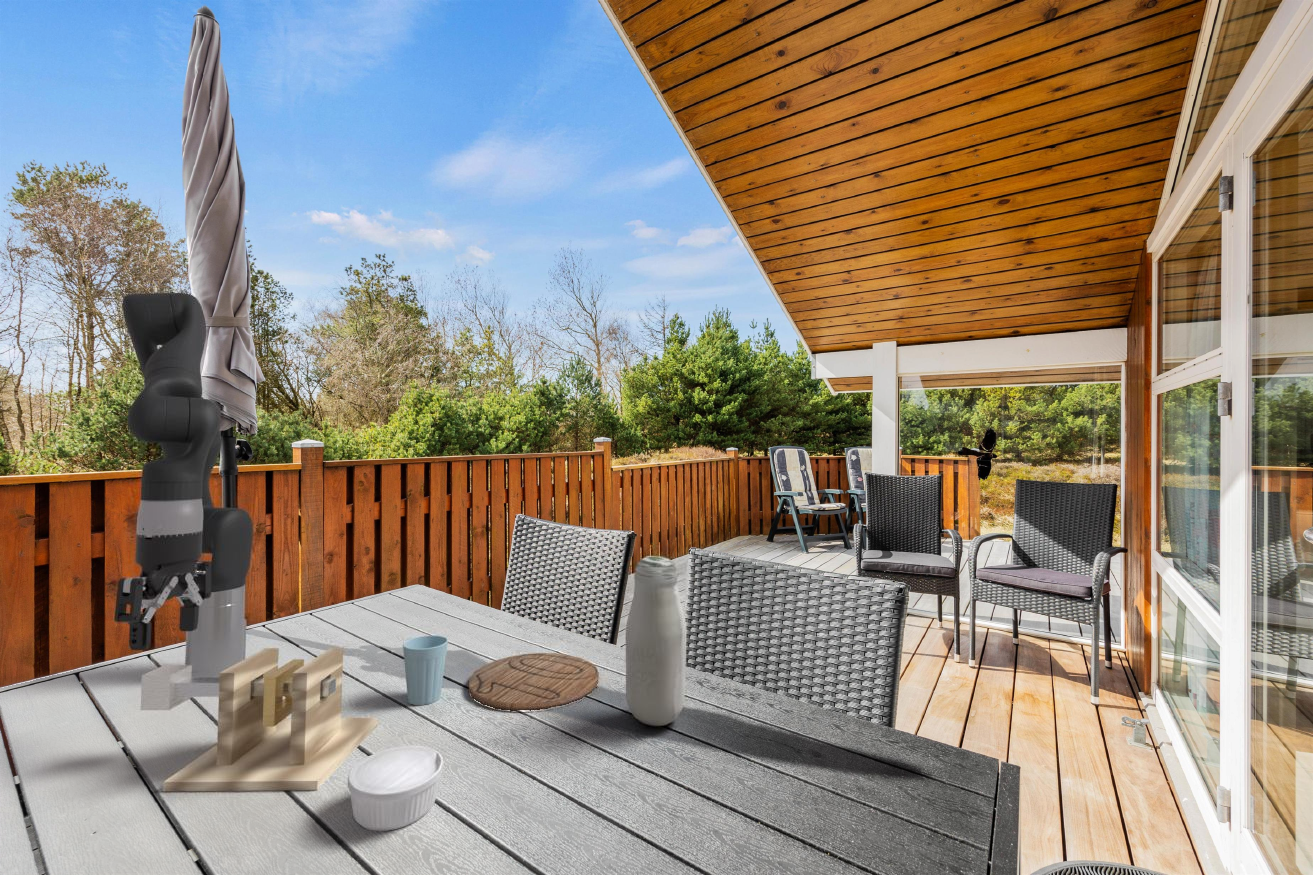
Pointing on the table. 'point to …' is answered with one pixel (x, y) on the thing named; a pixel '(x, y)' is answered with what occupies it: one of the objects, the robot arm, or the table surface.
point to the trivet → (533, 681)
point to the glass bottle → (655, 644)
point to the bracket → (276, 732)
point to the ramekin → (395, 786)
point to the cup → (424, 668)
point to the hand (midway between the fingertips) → (165, 639)
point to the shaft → (198, 687)
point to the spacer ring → (278, 693)
